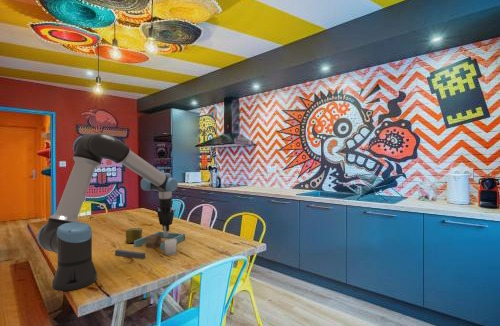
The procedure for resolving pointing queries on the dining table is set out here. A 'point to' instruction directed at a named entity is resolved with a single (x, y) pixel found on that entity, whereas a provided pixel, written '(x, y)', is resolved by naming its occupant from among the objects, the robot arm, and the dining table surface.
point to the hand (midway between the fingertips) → (166, 236)
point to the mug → (133, 234)
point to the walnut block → (153, 241)
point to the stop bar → (130, 254)
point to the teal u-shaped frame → (176, 236)
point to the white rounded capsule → (170, 246)
